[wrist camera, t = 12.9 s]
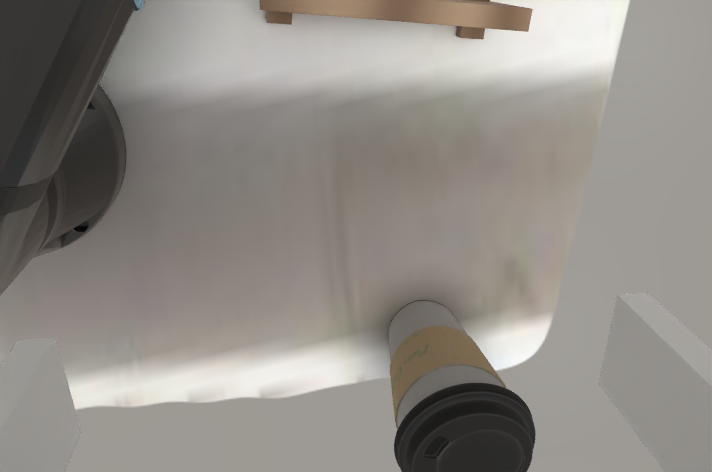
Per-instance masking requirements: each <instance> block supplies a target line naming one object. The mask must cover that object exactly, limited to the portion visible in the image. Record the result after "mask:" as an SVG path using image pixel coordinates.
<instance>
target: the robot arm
mask: <svg viewBox="0 0 712 472" xmlns="http://www.w3.org/2000/svg"><path fill="white" fill-rule="evenodd" d="M144 2H145V0H0V295H1V294H2V293H3V292H4V291H5V289H6V288H7V287H8V286H9V285H10V284H11V282H12V281H13V280H14V279H15V278H16V277H17V275H18V274H19V273H20V272H21V271H22V270H23V268H24V267H25V266H26V265H27V264H28V262H29V261H30V260H31V259H32V258H33V257H36V256H39V255H42V254H45V253H48V252H51V251H54V250H57V249H59V248H62V247H64V246H66V245H69V244H71V243H72V242H74V241H76V240H78V239H79V238H81V237H82V236H83V235H85V234H86V233H87V232H89V231H90V230H91V229H92V228H93V227H94V226H95V225H96V224H97V223H98V222H99V221H100V220H101V218H102V217H103V216H104V214H105V213H106V212H107V210H108V209H109V207H110V206H111V205H112V203H113V202H114V200H115V198H116V196H117V194H118V192H119V190H120V187H121V185H122V181H123V177H124V173H125V165H126V149H125V141H124V136H123V132H122V128H121V125H120V122H119V119H118V117H117V114H116V112H115V110H114V108H113V106H112V104H111V102H110V101H109V99H108V97H107V96H106V94H105V93H104V91H103V90H102V89H101V87H100V86H99V85H98V84H99V82H100V80H101V78H102V75H103V73H104V71H105V69H106V67H107V65H108V63H109V61H110V59H111V57H112V55H113V53H114V50H115V48H116V46H117V44H118V42H119V40H120V38H121V36H122V34H123V32H124V30H125V27H126V25H127V23H128V21H129V19H130V17H131V15H132V13H133V11H134V10H136V11H138V12H139V11H141V10H142V8H143V6H144ZM599 386H600V387H601V388H602V389H603V391H604V392H605V393H606V395H607V396H608V397H609V399H610V400H611V401H612V403H613V404H614V405H615V407H616V408H617V409H618V411H619V412H620V413H621V414H622V416H623V417H624V418H625V420H626V421H627V422H628V423H629V425H630V426H631V427H632V429H633V430H634V432H635V433H636V434H637V435H638V437H639V438H640V439H641V441H642V442H643V443H644V445H645V446H646V447H647V449H648V450H649V451H650V453H651V454H652V455H653V456H654V458H655V459H656V460H657V462H658V463H659V464H660V466H661V467H662V468H663V470H664V471H665V472H712V350H710V349H709V347H707V346H706V345H705V344H704V343H703V342H702V341H701V340H700V339H699V338H697V337H696V336H695V335H694V334H693V333H692V332H691V331H690V330H688V329H687V328H686V327H685V326H684V325H683V324H682V323H681V322H680V321H678V320H677V319H676V318H675V317H674V316H673V315H672V314H671V313H670V312H668V311H667V310H666V309H665V308H664V307H663V306H662V305H661V304H659V303H658V302H657V301H656V300H655V299H654V298H653V297H652V296H651V295H649V294H648V293H647V292H645V293H632V294H618V295H617V299H616V305H615V309H614V313H613V318H612V323H611V327H610V332H609V337H608V342H607V346H606V351H605V356H604V360H603V365H602V370H601V375H600V379H599ZM80 434H81V429H80V426H79V422H78V419H77V415H76V411H75V408H74V404H73V400H72V397H71V393H70V389H69V386H68V382H67V379H66V375H65V371H64V368H63V364H62V361H61V357H60V353H59V350H58V346H57V342H56V339H55V337H49V338H35V339H22V340H18V341H17V342H16V344H15V345H14V347H13V348H12V350H11V351H10V353H9V354H8V356H7V357H6V359H5V360H4V362H3V363H2V365H1V366H0V472H65V470H66V468H67V466H68V463H69V460H70V458H71V456H72V453H73V451H74V449H75V446H76V444H77V441H78V439H79V436H80Z"/></svg>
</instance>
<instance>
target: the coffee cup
mask: <svg viewBox="0 0 712 472" xmlns="http://www.w3.org/2000/svg"><path fill="white" fill-rule="evenodd" d="M388 338H389V348H390V357H391V365H390V376H391V385H392V395H393V405H394V414H395V422H396V427H397V429H398V430H397V433H396V437H395V443H394V452H395V457H396V460H397V463H398V465H399V467H400V468H401V471H402V472H527V470H528V468H529V466H530V463H531V459H532V453H533V448H534V443H535V427H534V423H533V420H532V415H531V413H530V410H529V408H528V406H527V405H526V404H525V402H524V401H523V400H522V399H521V398H520V397H519V396H518V395H516V394H515V393H514V392H512V391H510V390H508V389H506V386H505V384H504V383H503V381H502V380H501V379H500V377H499V376H498V374H497V373H496V372H495V370H494V369H493V367H492V366H491V364H490V363H489V362H488V360H487V359H486V357H485V356H484V355H483V353H482V352H481V350H480V349H479V348H478V346H477V345H476V343H475V342H474V341H473V340H472V338H470V337H469V336H468V335H467V334H466V333H465V331H464V330H463V328H462V327H461V326H460V324H459V323H458V321H457V320H456V319H455V317H454V316H453V315H452V313H451V312H450V311H449V310H448V309H447V308H446V307H444V306H442V305H440V304H438V303H435V302H432V301H417V302H413V303H410V304H408V305H406V306H405V307H403V308H402V309H401V310H400V311H399V312H398V313H397V314H396V315H395V317H394V318H393V320H392V322H391V324H390V327H389V333H388Z"/></svg>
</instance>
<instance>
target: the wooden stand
mask: <svg viewBox="0 0 712 472" xmlns="http://www.w3.org/2000/svg"><path fill="white" fill-rule="evenodd" d="M260 10H266V11H267V23H279V24H292V13H303V14H315V15H328V16H340V17H353V18H365V19H377V20H390V21H402V22H415V23H427V24H440V25H452V26H458V29H457V36H458V37H460V38H472V39H483V37H484V31H485V28H489V29H502V30H514V31H527V32H528V30H529V25H530V19H531V14H532V9H530V8H524V7H518V6H513V5H507V4H501V3H496V2H490V0H260Z"/></svg>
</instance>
